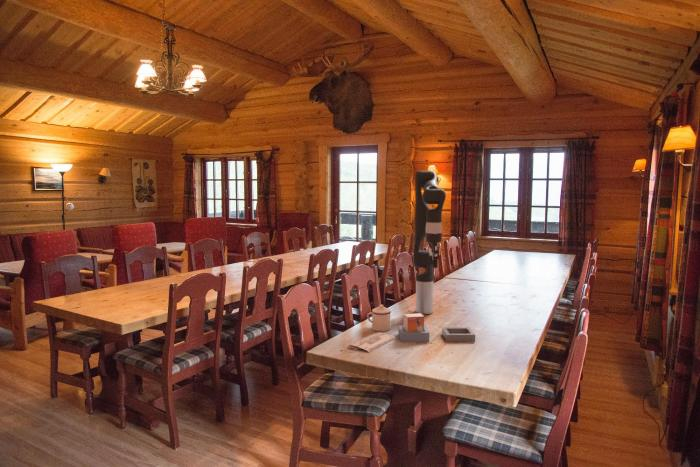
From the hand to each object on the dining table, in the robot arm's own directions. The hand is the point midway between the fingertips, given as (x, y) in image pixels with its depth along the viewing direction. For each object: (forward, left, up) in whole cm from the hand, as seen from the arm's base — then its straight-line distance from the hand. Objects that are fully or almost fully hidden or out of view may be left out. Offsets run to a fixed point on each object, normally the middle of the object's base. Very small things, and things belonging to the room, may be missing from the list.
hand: (433, 266), depth 222 cm
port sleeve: (+14, -11, -30) cm, 35 cm away
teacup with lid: (0, -26, -30) cm, 40 cm away
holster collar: (+14, +9, -30) cm, 34 cm away
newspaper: (+20, -30, -31) cm, 48 cm away
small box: (+14, -11, -30) cm, 35 cm away
